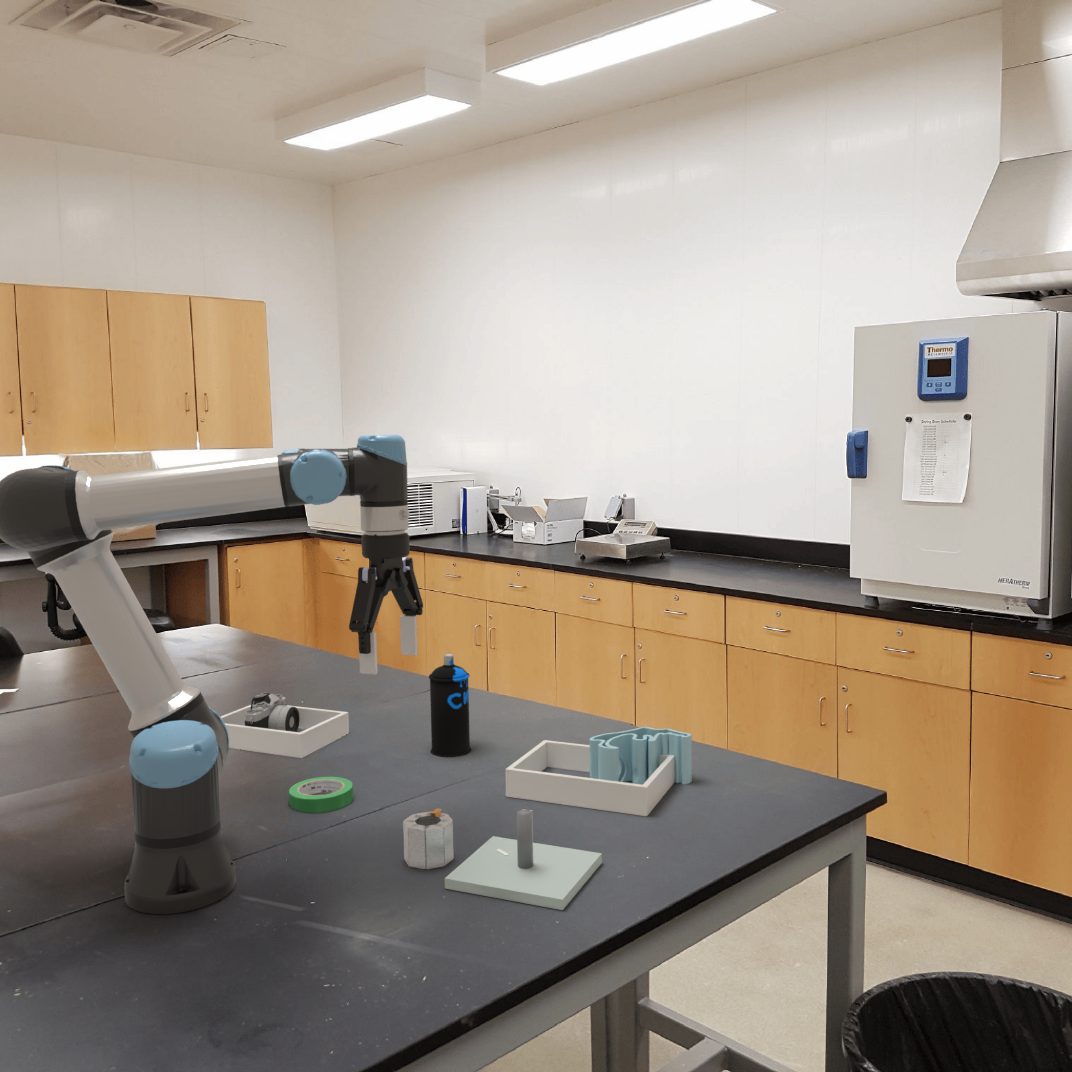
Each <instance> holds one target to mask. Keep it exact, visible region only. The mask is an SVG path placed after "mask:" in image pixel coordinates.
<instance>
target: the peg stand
mask: <svg viewBox="0 0 1072 1072" xmlns="http://www.w3.org/2000/svg"><path fill="white" fill-rule="evenodd" d="M533 822H534V818H533V810H531V809H524V808H522V809H520V810H518V811H516V839H512V838H507V837H506V838H505V837H501V836H496V835H493V836H491V837H490V838H489V839H488V840H486V842H485V843H483V844H482V845H481V846H480V847H478V849H476V850H475V851H474V852H473V853H472V854H470V855H469V857H467V858H466V859H465V860H464V861H462V863H460V864H459V865H458V866H457V867H456V868H455V869H453V870H452V871H451V872H450V873H449V874H448V875H447V876H445V877H444V889H446V890H450V891H457V892H461V893H468V894H472V895H479V896H483V897H484V896H485V897H487V898H488V897H489V898H494V899H499V900H505V901H511V902H516V903H521V904H526V905H531V906H532V905H533V906H537V907H538V906H539V907H542V908H543V907H544V908H548V909H549V908H550V909H553V910H559V911H563V910H564V909H565V908H566V907H567V906H568V904H569V903H570V902H571V901H572V900H573V898H574V897H576V895H577V894H578V893H579V891H580V890H581V889H582V888H583V886H584V885H585V884H586V883H587V882H588V881H589V880H590V878H591V877H592V875H594V873H595V872H596V871H597V870H598V868H599V867H600V866H601V865H602V864H603V862H602V861H603V857H602V856H603V855H602V852H595V851H588V850H582V849H576V848H570V847H563V846H557V845H550V844H545V843H539V842H534V824H533Z"/></svg>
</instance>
